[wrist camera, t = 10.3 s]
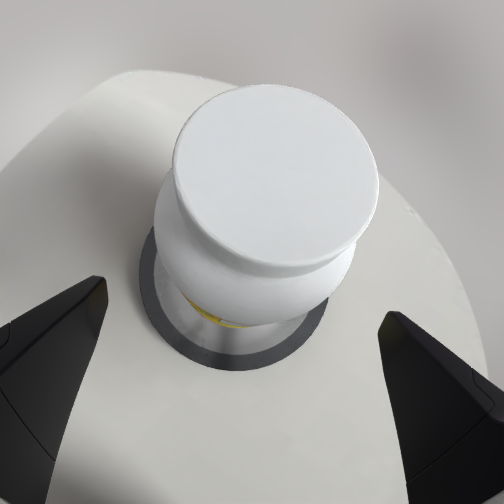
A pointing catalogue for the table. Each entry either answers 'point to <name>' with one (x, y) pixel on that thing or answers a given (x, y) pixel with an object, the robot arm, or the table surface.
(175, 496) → the table surface
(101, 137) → the table surface
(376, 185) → the supplement bottle
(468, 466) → the robot arm
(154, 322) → the base
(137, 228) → the table surface
